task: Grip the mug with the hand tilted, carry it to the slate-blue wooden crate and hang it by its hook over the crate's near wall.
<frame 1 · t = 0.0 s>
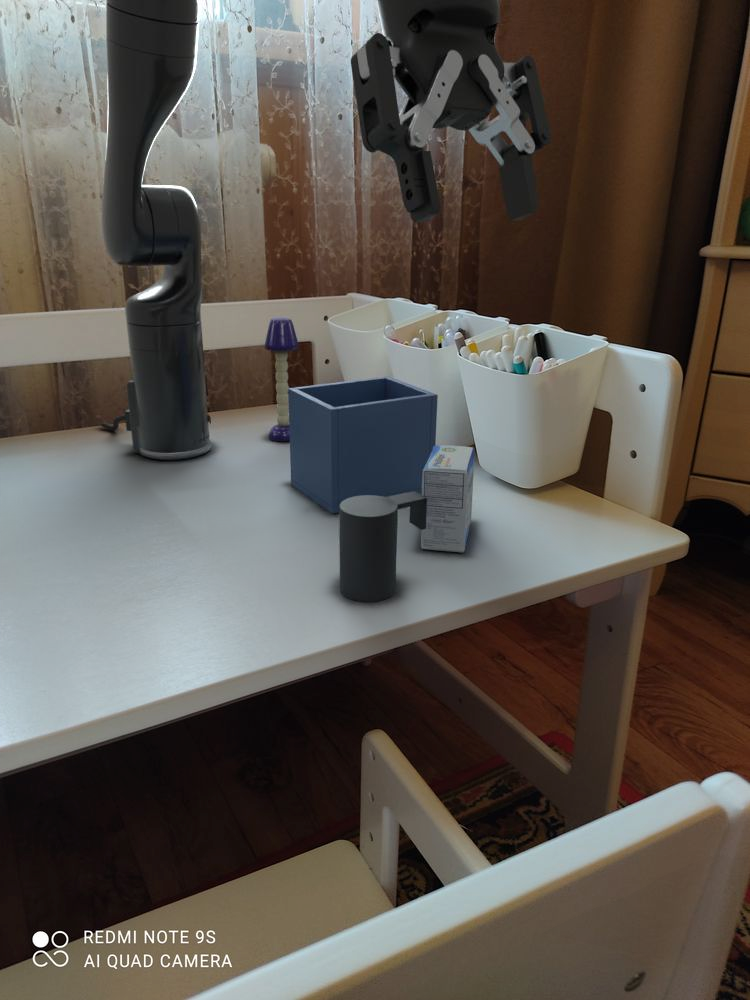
hand: (476, 217, 50), 31 cm above the table, tool tilted 20°, fingers open, 8 cm apart
toy lamp: (284, 437, 111), on the table
medicine box: (446, 538, 80), on the table
crate: (361, 488, 92), on the table
mug: (367, 588, 69), on the table
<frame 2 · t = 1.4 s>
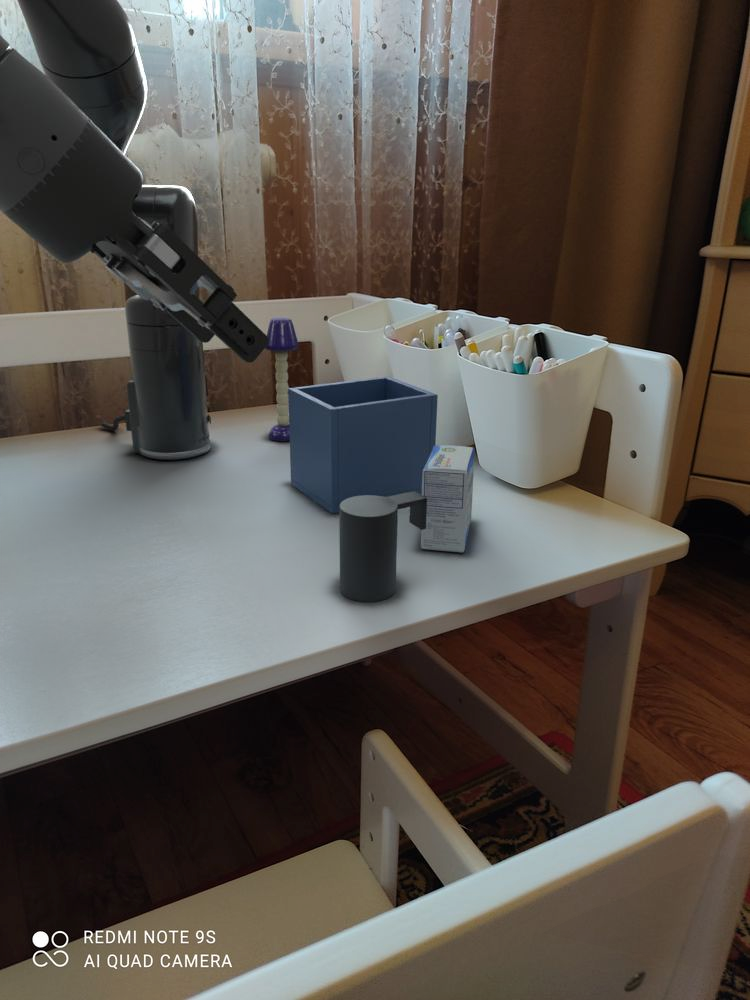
hand: (234, 342, 55), 23 cm above the table, tool tilted 45°, fingers open, 8 cm apart
nothing on the table moved.
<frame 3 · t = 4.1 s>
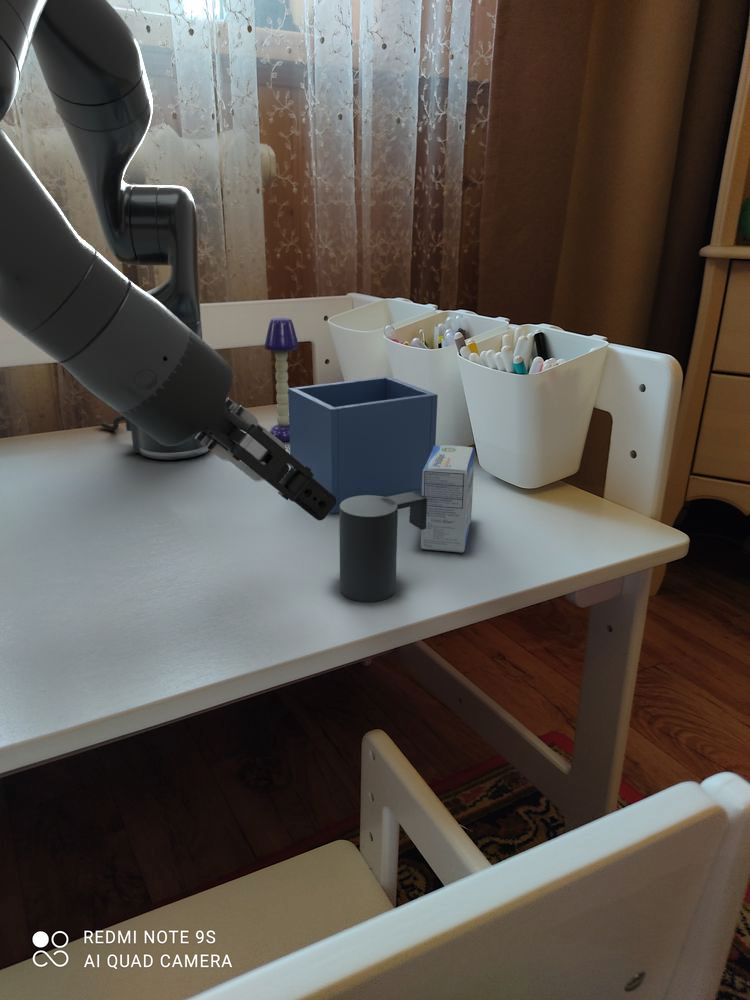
hand: (303, 492, 62), 10 cm above the table, tool tilted 45°, fingers open, 8 cm apart
nothing on the table moved.
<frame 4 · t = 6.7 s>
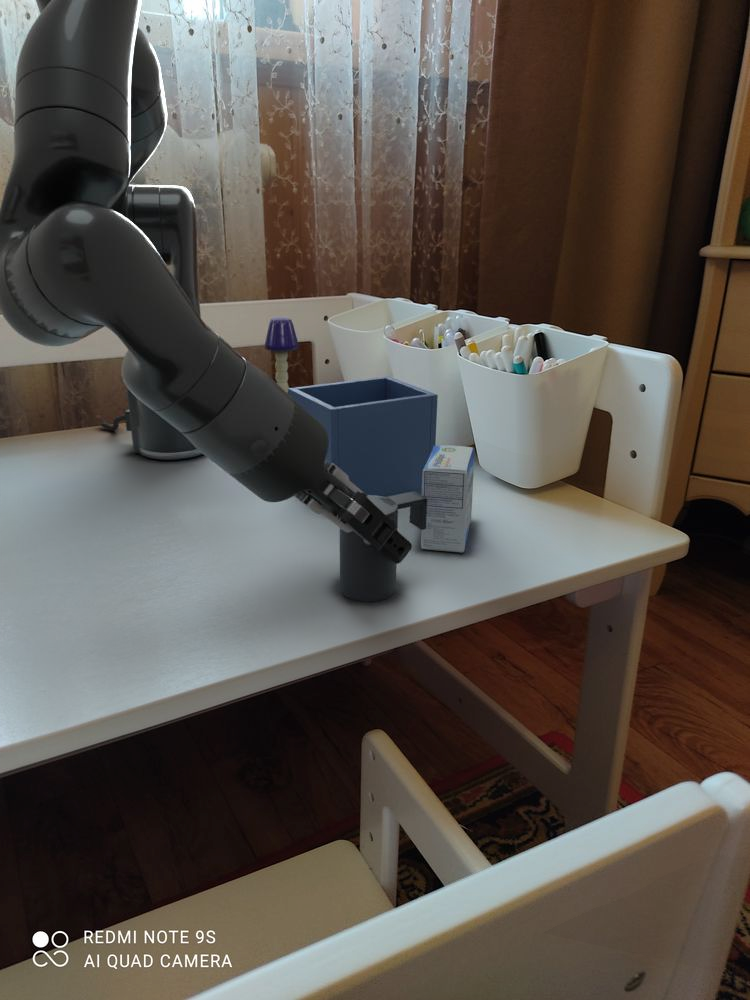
hand: (385, 541, 68), 4 cm above the table, tool tilted 45°, fingers closed on mug, 5 cm apart
mug: (367, 588, 69), on the table, touching gripper
everything else where it was.
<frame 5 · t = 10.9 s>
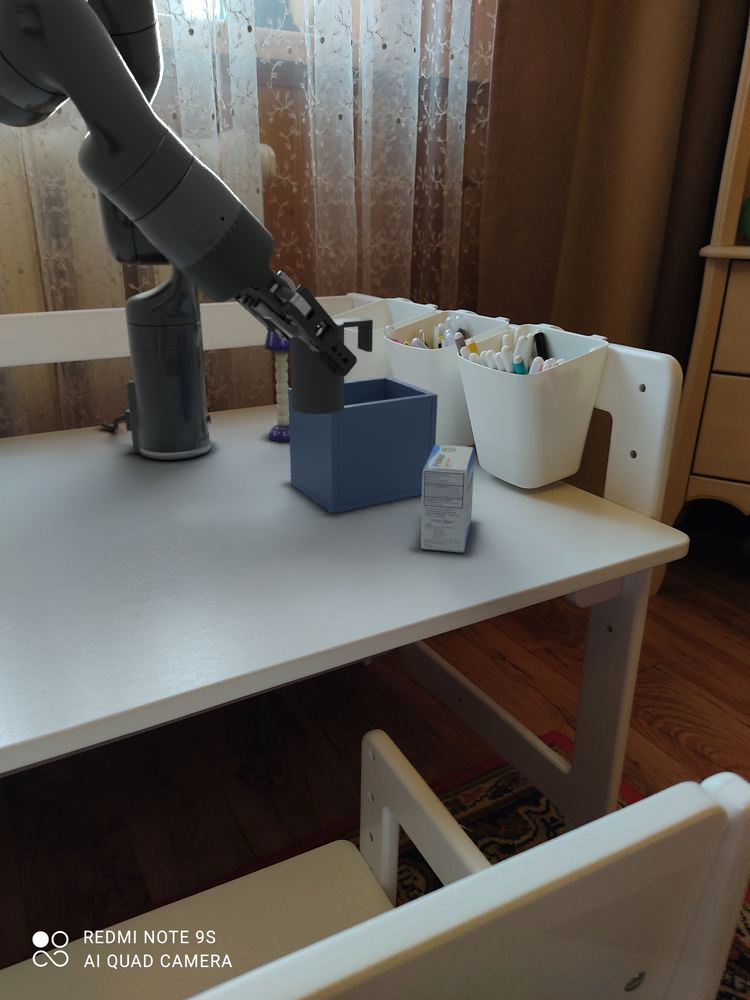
hand: (334, 362, 73), 18 cm above the table, tool tilted 45°, fingers closed on mug, 5 cm apart
mug: (317, 407, 74), point 14 cm above the table, touching gripper
everything else where it was.
when the fingers open (8 cm above the table, at t = 15.3 s): mug stays where it is, resting on crate.
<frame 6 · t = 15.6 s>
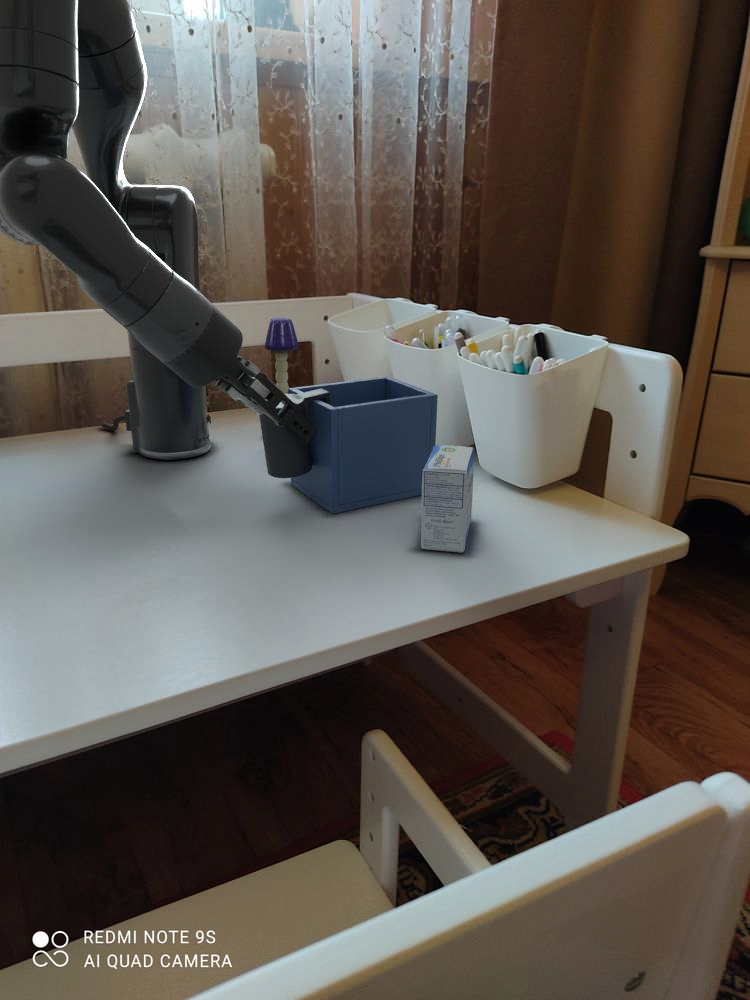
hand: (295, 428, 85), 9 cm above the table, tool tilted 45°, fingers open, 7 cm apart
mug: (290, 469, 86), point 4 cm above the table, tilted 6°, touching crate
everything else where it was.
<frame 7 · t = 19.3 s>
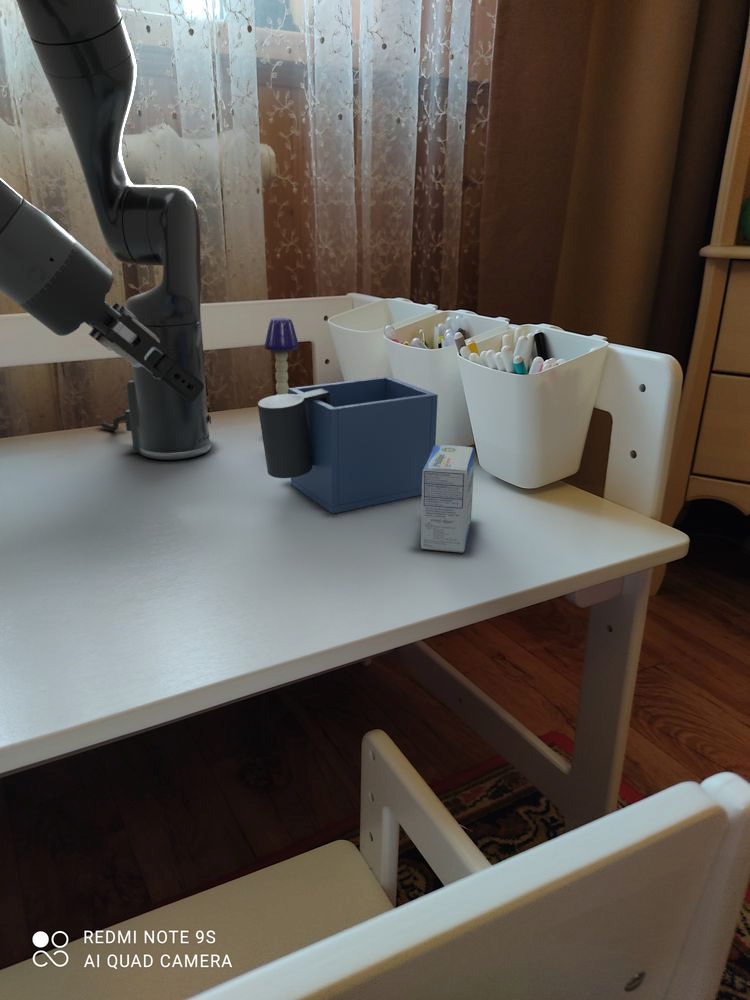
hand: (183, 384, 76), 15 cm above the table, tool tilted 45°, fingers open, 8 cm apart
nothing on the table moved.
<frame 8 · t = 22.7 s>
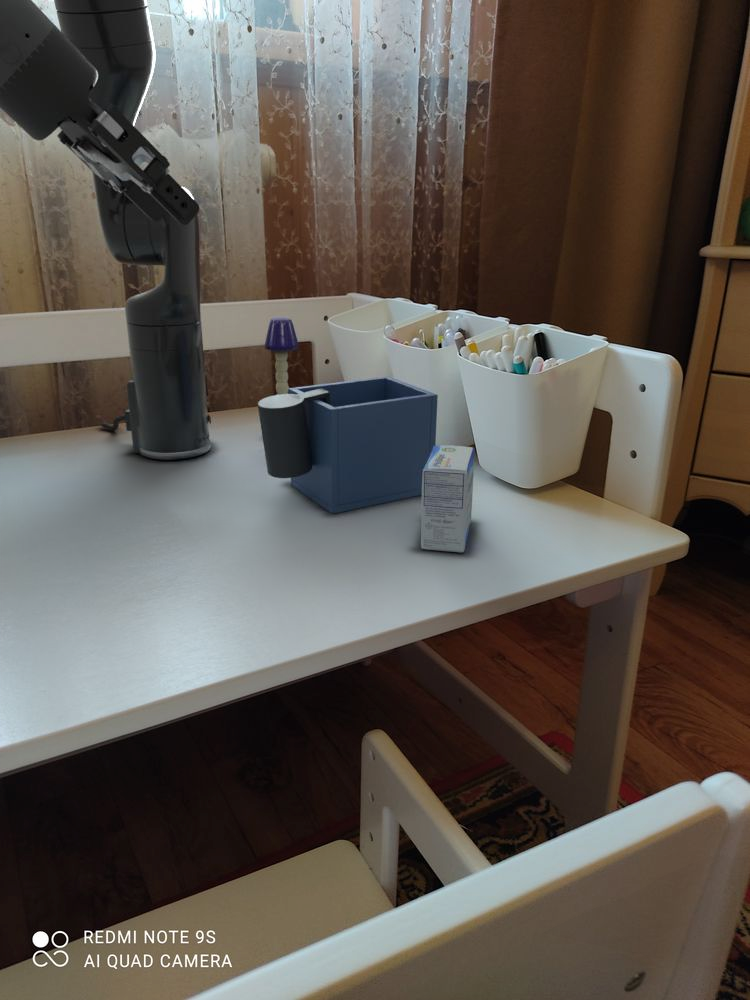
hand: (176, 216, 69), 31 cm above the table, tool tilted 45°, fingers open, 8 cm apart
nothing on the table moved.
at the end: mug 1.0 cm from the target spot on the crate, point 4.0 cm above the crate's base; mug touching crate; the gripper is holding nothing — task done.
